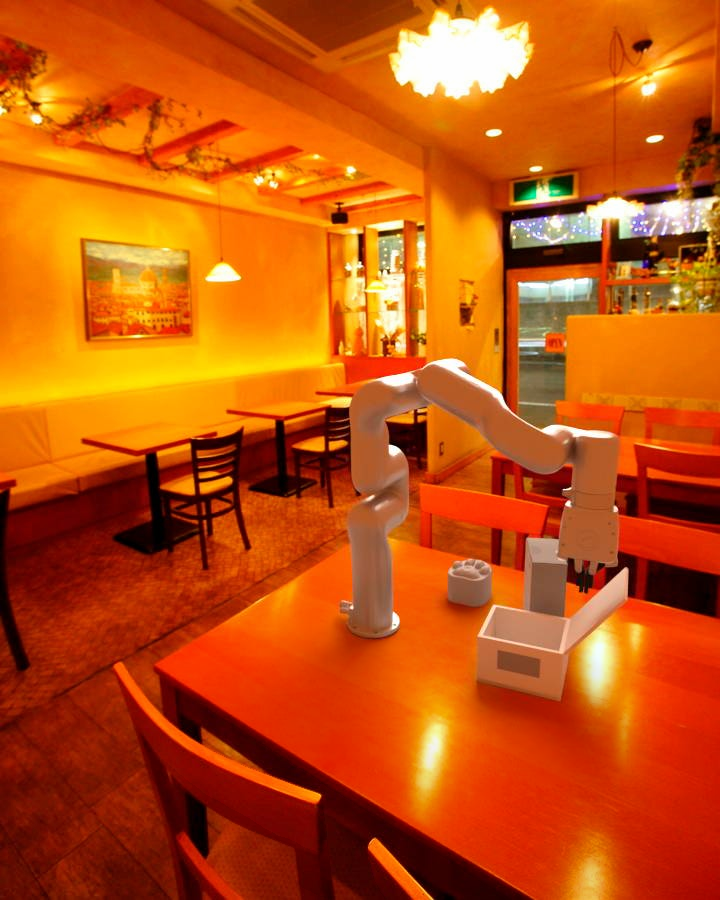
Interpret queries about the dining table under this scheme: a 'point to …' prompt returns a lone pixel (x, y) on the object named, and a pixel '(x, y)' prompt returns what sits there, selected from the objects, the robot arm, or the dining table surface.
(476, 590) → the lumpy-topped squat cylinder
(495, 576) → the dining table surface
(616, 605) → the lid flap
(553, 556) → the hard drive box
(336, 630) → the dining table surface
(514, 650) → the carton
